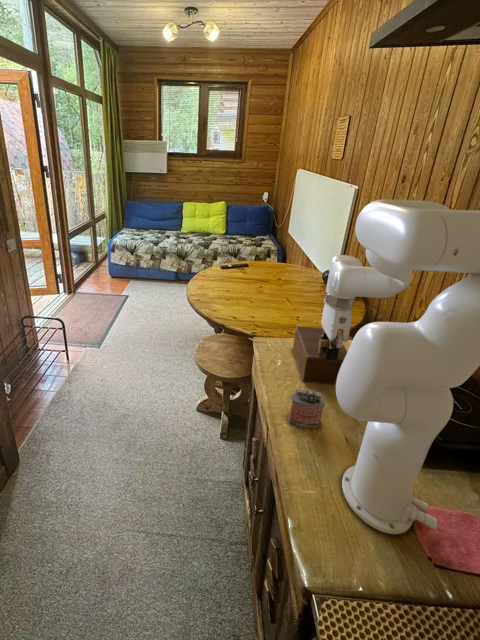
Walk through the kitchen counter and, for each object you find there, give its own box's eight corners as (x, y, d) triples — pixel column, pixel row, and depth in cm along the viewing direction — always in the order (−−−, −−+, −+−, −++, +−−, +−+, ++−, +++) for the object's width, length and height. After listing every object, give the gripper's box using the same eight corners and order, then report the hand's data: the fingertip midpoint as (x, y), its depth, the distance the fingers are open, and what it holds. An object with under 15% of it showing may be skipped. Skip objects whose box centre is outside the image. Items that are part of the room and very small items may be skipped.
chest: (345, 385, 93) (351, 361, 90) (302, 381, 94) (307, 357, 91) (329, 352, 108) (333, 331, 105) (292, 349, 109) (296, 328, 106)
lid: (352, 362, 90) (356, 347, 88) (307, 359, 91) (310, 343, 89) (333, 331, 105) (336, 317, 103) (296, 328, 106) (298, 314, 104)
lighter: (318, 418, 81) (324, 388, 78) (321, 429, 78) (328, 398, 75) (287, 414, 82) (292, 384, 79) (289, 425, 79) (294, 394, 76)
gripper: (366, 315, 78) (351, 374, 84) (342, 287, 94) (331, 338, 100) (335, 313, 78) (323, 371, 84) (316, 285, 94) (308, 336, 100)
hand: (328, 353), depth 92 cm, fingers open, 4 cm apart
